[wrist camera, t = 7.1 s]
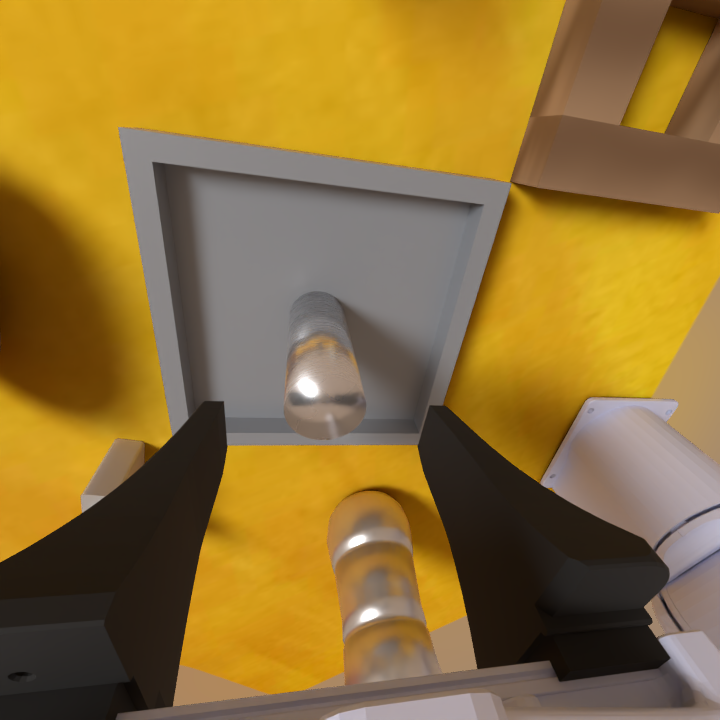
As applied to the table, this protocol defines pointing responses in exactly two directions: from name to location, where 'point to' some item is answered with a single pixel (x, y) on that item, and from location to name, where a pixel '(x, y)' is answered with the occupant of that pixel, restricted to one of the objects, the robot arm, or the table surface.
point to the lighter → (113, 470)
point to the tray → (304, 275)
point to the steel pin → (321, 370)
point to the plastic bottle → (378, 591)
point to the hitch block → (622, 112)
